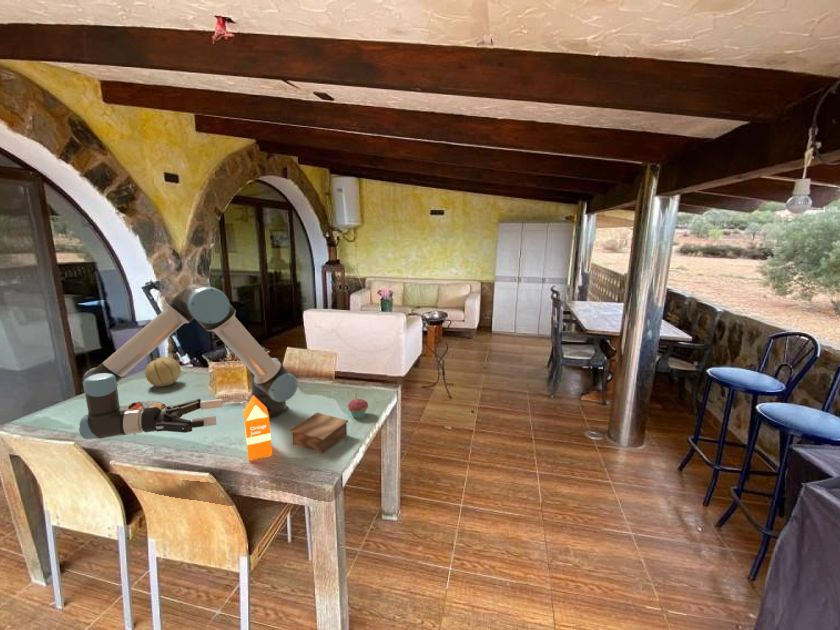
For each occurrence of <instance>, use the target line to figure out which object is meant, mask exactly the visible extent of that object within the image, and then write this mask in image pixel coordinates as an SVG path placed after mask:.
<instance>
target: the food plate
mask: <svg viewBox="0 0 840 630" xmlns="http://www.w3.org/2000/svg"><path fill="white" fill-rule="evenodd" d="M151 407H158V408H159V409H160V410H161V411H165V410H167V405H166V404H165V403H163V402H160V401H156V400H155V401H153V400H151V401H147V400H146V401H137V402H132V403H128V404H126V405H120V411H124V410H132V409H141V408H142V409H145V408H151Z"/></svg>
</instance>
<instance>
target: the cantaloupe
mask: <svg viewBox="0 0 840 630" xmlns="http://www.w3.org/2000/svg"><path fill="white" fill-rule="evenodd" d="M144 371H145V372H144V374H145V378H146V380H147V382H149V384H151V385H153V386H155V387H168V386H171V385H172V384H174V383H175V382H176V381H178V379H179V378H180V376H181V374H182V370H181V366H180V364H179V363H178V362H177V360H175V359H174V358H172V357H167V356H161V357H158V358H157V357H153V359H152V360H151V361H150V362H149V363H148V364H147V365H146V367H145V370H144Z"/></svg>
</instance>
